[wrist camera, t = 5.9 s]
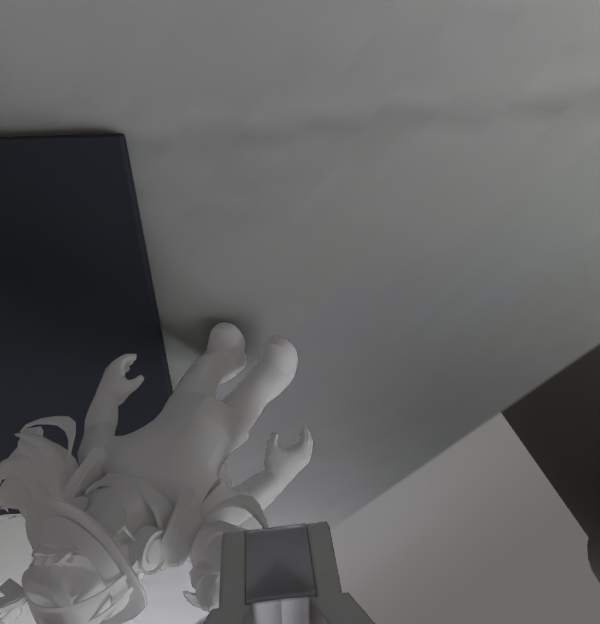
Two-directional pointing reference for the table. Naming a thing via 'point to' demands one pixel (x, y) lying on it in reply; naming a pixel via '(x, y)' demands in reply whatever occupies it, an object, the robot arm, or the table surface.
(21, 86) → the table surface
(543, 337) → the table surface
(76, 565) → the cartoon character statuette
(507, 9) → the table surface
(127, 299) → the mat
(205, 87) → the table surface
